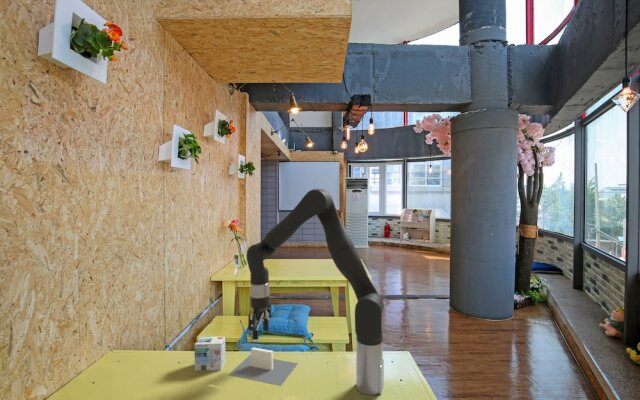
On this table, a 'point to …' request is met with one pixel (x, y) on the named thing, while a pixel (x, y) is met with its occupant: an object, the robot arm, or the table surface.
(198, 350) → the light bulb box
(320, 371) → the table surface
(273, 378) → the mat
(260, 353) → the card deck
